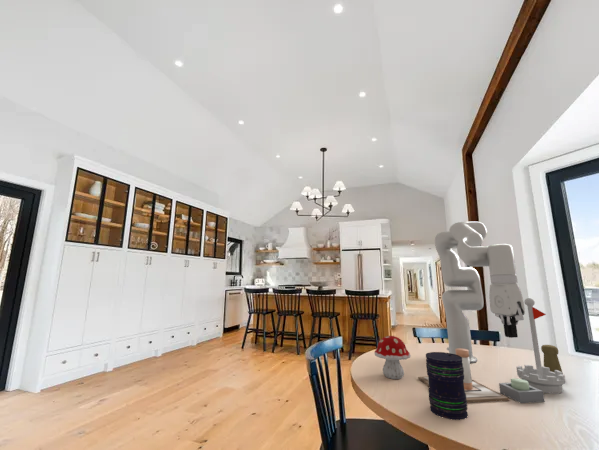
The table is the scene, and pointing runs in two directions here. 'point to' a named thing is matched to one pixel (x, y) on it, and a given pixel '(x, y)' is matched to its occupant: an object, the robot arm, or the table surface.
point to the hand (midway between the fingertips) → (511, 336)
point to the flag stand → (539, 361)
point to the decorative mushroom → (392, 356)
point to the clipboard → (477, 392)
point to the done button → (519, 384)
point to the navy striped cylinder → (446, 385)
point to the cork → (551, 357)
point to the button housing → (522, 393)
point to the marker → (465, 367)
